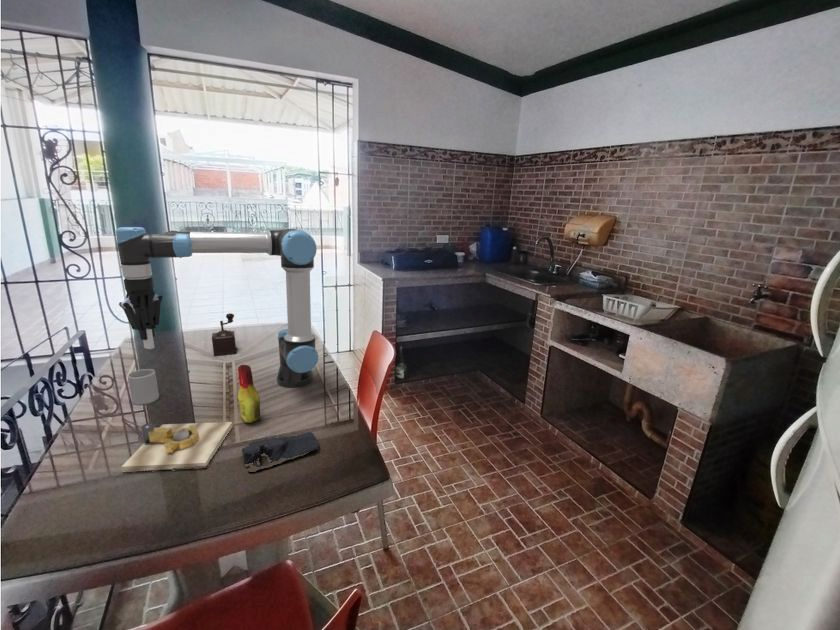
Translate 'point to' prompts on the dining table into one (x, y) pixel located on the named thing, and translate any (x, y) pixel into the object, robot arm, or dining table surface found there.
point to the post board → (195, 455)
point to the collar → (168, 437)
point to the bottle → (248, 395)
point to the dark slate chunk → (280, 448)
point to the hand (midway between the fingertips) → (149, 347)
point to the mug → (143, 386)
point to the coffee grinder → (224, 340)
